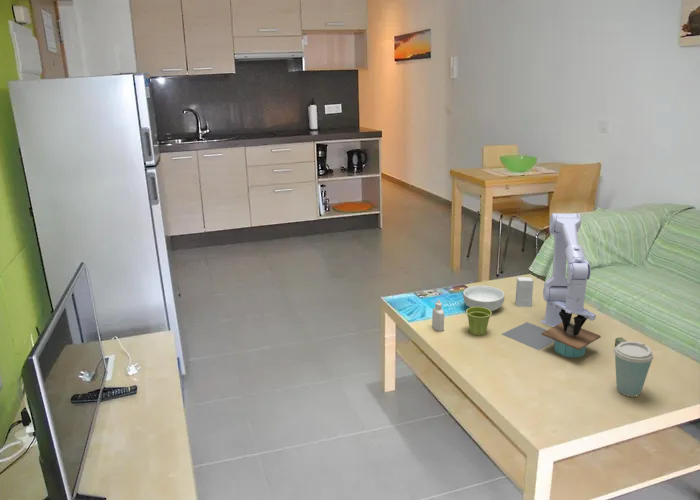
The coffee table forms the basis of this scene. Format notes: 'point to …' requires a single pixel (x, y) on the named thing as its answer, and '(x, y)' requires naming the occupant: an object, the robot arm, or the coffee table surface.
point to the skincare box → (524, 291)
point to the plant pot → (478, 320)
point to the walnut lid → (571, 336)
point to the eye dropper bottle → (438, 317)
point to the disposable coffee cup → (632, 366)
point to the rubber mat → (529, 335)
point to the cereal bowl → (483, 297)
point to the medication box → (619, 341)
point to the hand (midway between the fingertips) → (571, 332)
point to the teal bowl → (568, 350)
